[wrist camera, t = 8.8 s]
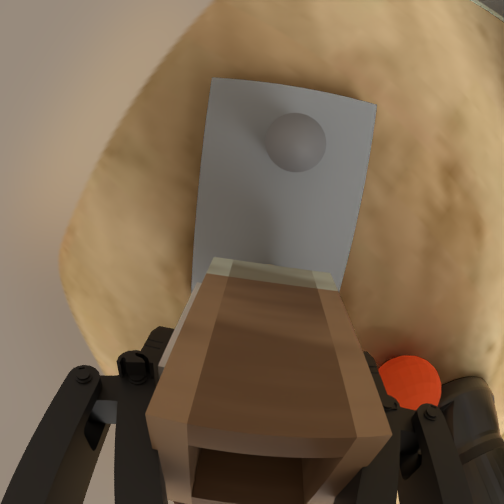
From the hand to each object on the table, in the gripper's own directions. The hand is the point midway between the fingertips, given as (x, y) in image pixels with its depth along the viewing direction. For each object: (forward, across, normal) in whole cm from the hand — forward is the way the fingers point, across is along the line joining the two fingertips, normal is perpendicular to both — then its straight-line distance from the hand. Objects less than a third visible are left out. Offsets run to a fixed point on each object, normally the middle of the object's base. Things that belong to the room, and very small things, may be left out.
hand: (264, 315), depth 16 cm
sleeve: (0, 0, 0) cm, 0 cm away
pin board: (+6, 0, -4) cm, 8 cm away
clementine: (+6, -13, +9) cm, 17 cm away
